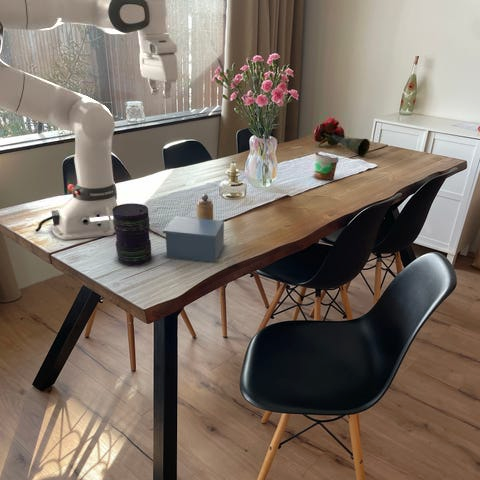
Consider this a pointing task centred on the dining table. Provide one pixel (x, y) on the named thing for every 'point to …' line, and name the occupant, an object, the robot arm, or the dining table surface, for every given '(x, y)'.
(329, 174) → the food container
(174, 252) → the storage box
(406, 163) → the dining table surface
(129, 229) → the black cylinder
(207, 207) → the pepper mill
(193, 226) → the box lid
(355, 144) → the red rose bouquet
